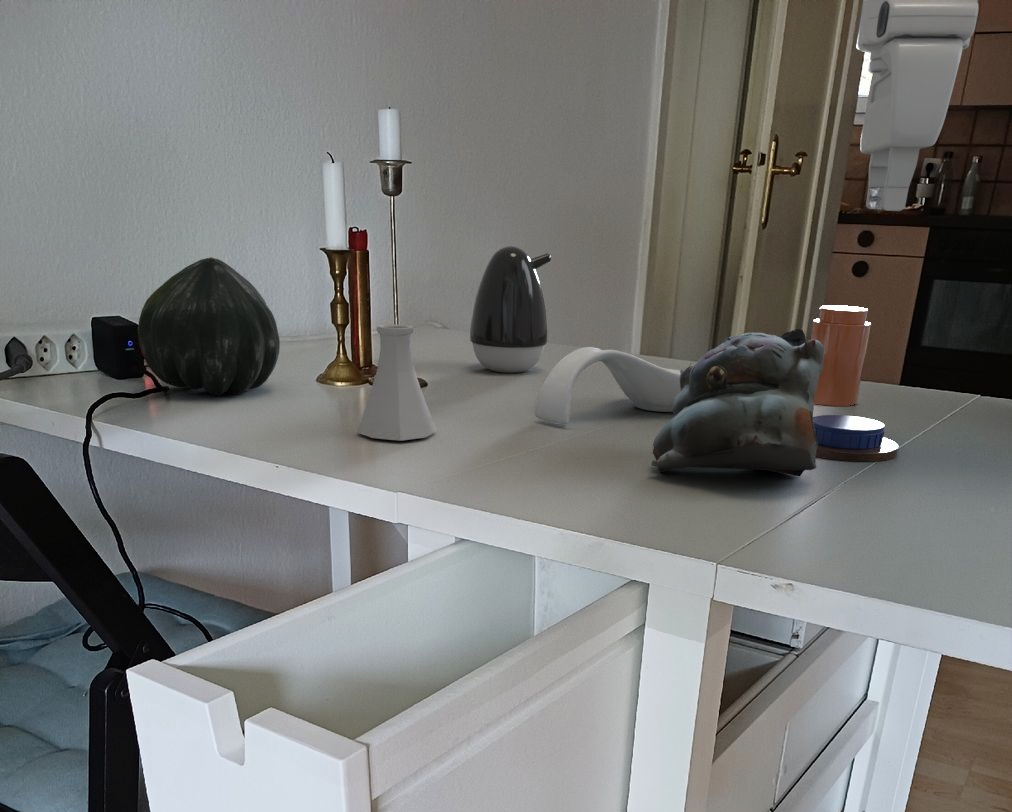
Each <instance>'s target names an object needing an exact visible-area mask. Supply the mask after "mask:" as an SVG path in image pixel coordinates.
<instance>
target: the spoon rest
mask: <svg viewBox="0 0 1012 812" xmlns="http://www.w3.org/2000/svg"><path fill="white" fill-rule="evenodd" d="M598 362H602V363H603V364H604V365H605V366H606V368H607V369H608V370H609V372H610V373H611V375H612V378H614V380H615V382H616V383H617V385H618V386H619V388H620V389H621V391H622V392H623V394H624V395H625V396H626V397H627V398H628V399H629V400H630V401H631V402H632V404H633V406H634V407H636V408H638V409H641V410H645V411H649V412H650V411H651V412H661V413H663V412H664V413H673V410H672V408H673V405H674V399H675V398H676V396H677V395H678V394H679V393H680V392H681V388H680V374H681V372H680V370H681V369H680V370H679V369H673V368H664V367H661V366H659V365H656V364H654V363H652V362H649V361H647V360H645V359H642V358H640V357H638V356H635V355H633V354H630V353H627V352H624V351H621V350H616V349H604V350H602V349H601V348H598V347H595V346H594V347H593V346H584V347H580V348H576V349H575V350H573V351H571V352H569V353H568V354H566V355H565V356H564V357H563V358H561V359H560V360H559V361H558V362H557V363H556V364H555V365H554V366H553V367H552V369H551V370H550V371H549V373H548V374H547V376H546V377H545V379H544V382H543V383H542V385H541V388H540V390H539V393H538V396H537V399H536V403H535V409H534V416H535V417H536V418H537V419H539V420H542V421H546V422H549V423H554V424H558V425H568V424H569V421H570V410H571V409H570V408H571V398H572V393H573V388H574V386H575V382H576V381H577V379H578V377H579V375H580V374H581V373H582V372H583V371H584V370H586V369H587V368H588V367H589V366H591V365H593V364H595V363H598Z"/></svg>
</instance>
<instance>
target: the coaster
mask: <svg viewBox="0 0 1012 812" xmlns="http://www.w3.org/2000/svg"><path fill="white" fill-rule="evenodd" d="M898 452H899V444H898V443H896V442H895V441H893V440H891V439H888V438H887V437H883V442H882V444H881V445H880V446H879V447H876V448H870V449H845V448H836V447H829V446H824V445H820V444H817V449H816V456H815V458H820V459H827V460H834V461H842V462H858V463H859V462H863V463H864V462H866V463H869V462H882V461H883V462H884V461H888V460H891V459H894V458H896V457H897V456H898Z"/></svg>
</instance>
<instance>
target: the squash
mask: <svg viewBox="0 0 1012 812" xmlns="http://www.w3.org/2000/svg"><path fill="white" fill-rule="evenodd" d="M137 337H138V343H139V348H140V351H141V354H142V356H143V358H144V361H145V363H146V364H147V366H148V367H149V369H150V371H151V372H152V373H153V374H154V375H155V376H156V378H158V379H159V380H160V381H161V382H163V383H165V384H167V385H169V386H171V387H176V388H189V389H194V390H199V389H202V388H203V389H204V390H205V391H206V392H207V393H209V394H211V395H214V396H222V395H223V394H225V393H226V392H227V393H228V394H231V395H240V394H243V393H245V392H247V391H248V390H254V389H256V388H259V387H261V386H263V384H265V383H266V382H267V380H268V379H269V377H270V376H271V375H272V374H273V371H274V370H275V368H276V364H277V362H278V359H279V355H280V347H281V345H280V344H281V343H280V334H279V330H278V326H277V321H276V319H275V316H274V314H273V312H272V310H271V309H270V308H269V306H268V305H267V302H266V301H265V298H264V297H263V296H262V294H261V293H260V292H259V290H258V289H257V288H256V286H254V285H253V283H251V282H250V281H249V280H248V279H247V278H245V277H244V276H243V275H242V274H240V273H239V272H238V271H237V270H235V269H234V268H233V267H232V266H230V265H229V264H227V263H226V262H224V261H223V260H221V259H219V258H215V257H207V258H202V259H199V260H197V261H195V262H193V263H191V264H189V265H187V266H186V267H184V268H183V269H181V270H179V271H178V272H176V273H175V274H174V275H172V276H171V277H170V278H168V279H167V280H166V281H165V282H163V283H162V285H160V286H159V287H158V288H157V289H155V290H154V292H153V293H151V295H149V297H148V298H147V299H146V301H145V302H144V304H143V307H142V308H141V312H140V316H139V320H138V324H137Z"/></svg>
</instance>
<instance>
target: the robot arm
mask: <svg viewBox="0 0 1012 812" xmlns="http://www.w3.org/2000/svg"><path fill="white" fill-rule="evenodd" d="M979 8H980V7H979V0H862V6H861V13H860V19H859V27H858V33H857V38H856V45H855V47H856V49H857V50H858V51H860V52H865V53H869V54H870V56H869V63H868V69H867V71H868V72H869V73H870V74H872V78H871V81H870V86H869V92H868V96H867V103H866V107H865V108H866V109H865V112H864V119H863V125H862V130H861V135H860V136H861V137H860V152H861V153H862V154H863V155H870V158H869V164H868V185H867V186H868V189H867V194H866V195H867V196H866V201H865V207H866V208H867V209H868V210H883V211H887V212H889V211H890V212H901V211H903V210H904V209H905V207H906V204H907V199H908V193H909V189H910V185H911V183H912V179H913V177H914V174H915V172H916V168H917V165H918V161H919V155H920V150H922V149H925V148H929V147H933V146H934V145H935V144H936V142H937V140H938V138H939V136H940V134H941V131H942V129H943V126H944V123H945V120H946V116H947V113H948V109H949V106H950V102H951V98H952V94H953V90H954V86H955V82H956V78H957V75H958V72H959V71H958V70H959V66H960V62H961V58H962V55H963V51H964V50H966V49H968V48H969V46H970V42H971V37H972V36H973V35H974V33H975V30H976V26H977V21H978V15H979Z"/></svg>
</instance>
